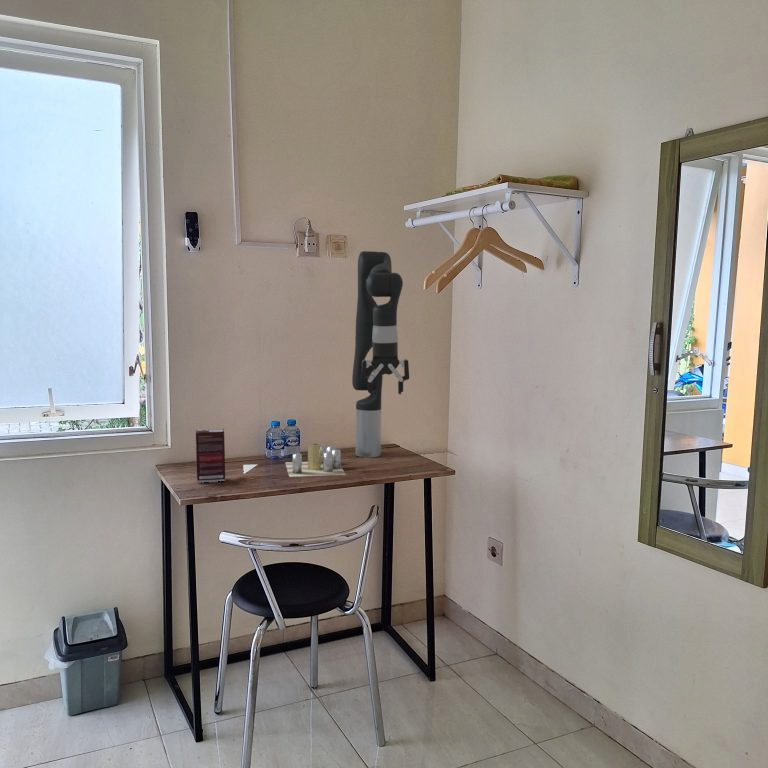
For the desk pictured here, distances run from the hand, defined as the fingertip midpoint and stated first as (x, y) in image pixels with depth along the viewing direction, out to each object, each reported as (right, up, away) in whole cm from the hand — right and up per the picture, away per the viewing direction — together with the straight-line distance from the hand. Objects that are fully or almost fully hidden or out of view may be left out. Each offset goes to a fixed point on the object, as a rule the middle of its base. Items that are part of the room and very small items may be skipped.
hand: (385, 394), depth 210 cm
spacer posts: (-23, -25, +21) cm, 40 cm away
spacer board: (-23, -26, +20) cm, 40 cm away
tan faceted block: (-23, -25, +20) cm, 39 cm away
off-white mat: (-41, -26, +18) cm, 52 cm away
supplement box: (-54, -27, +5) cm, 61 cm away
